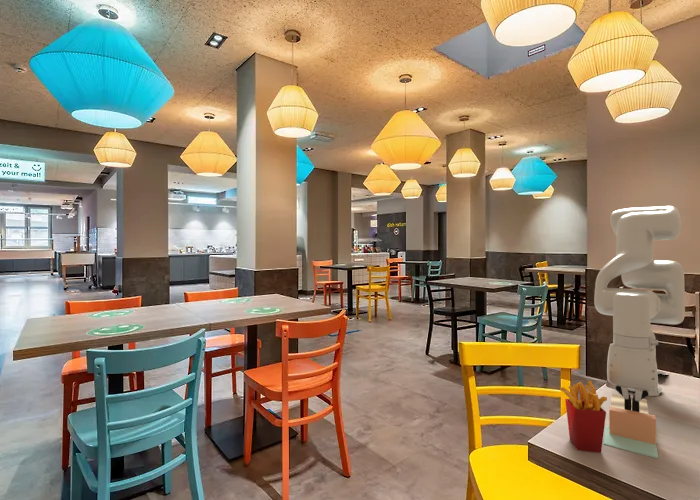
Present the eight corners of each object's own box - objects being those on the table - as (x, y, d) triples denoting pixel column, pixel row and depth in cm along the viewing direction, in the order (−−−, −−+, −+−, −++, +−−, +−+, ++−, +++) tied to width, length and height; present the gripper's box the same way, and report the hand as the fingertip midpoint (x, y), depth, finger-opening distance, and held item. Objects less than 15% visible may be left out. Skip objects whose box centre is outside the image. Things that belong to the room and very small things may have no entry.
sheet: (611, 406, 110) (611, 393, 110) (646, 413, 105) (646, 399, 105) (610, 428, 97) (610, 412, 97) (649, 437, 92) (649, 420, 92)
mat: (605, 426, 97) (605, 425, 97) (654, 438, 92) (654, 437, 92) (603, 444, 89) (603, 443, 89) (658, 458, 83) (658, 457, 83)
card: (609, 406, 95) (609, 409, 93) (655, 415, 90) (655, 419, 88) (609, 429, 95) (609, 433, 93) (655, 439, 90) (655, 444, 88)
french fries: (607, 456, 84) (607, 389, 84) (567, 452, 86) (567, 386, 86) (590, 436, 93) (590, 376, 93) (554, 433, 94) (554, 374, 94)
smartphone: (636, 368, 135) (636, 366, 135) (645, 372, 145) (646, 369, 145) (661, 373, 129) (661, 371, 130) (669, 376, 139) (670, 374, 139)
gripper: (668, 342, 92) (669, 416, 92) (596, 335, 101) (597, 402, 101) (672, 349, 86) (672, 428, 86) (595, 340, 95) (595, 412, 95)
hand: (631, 414), depth 94 cm, fingers closed
